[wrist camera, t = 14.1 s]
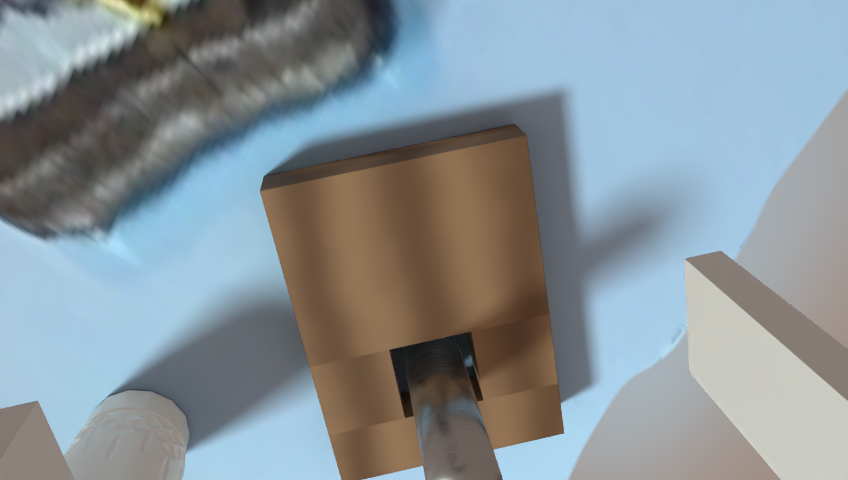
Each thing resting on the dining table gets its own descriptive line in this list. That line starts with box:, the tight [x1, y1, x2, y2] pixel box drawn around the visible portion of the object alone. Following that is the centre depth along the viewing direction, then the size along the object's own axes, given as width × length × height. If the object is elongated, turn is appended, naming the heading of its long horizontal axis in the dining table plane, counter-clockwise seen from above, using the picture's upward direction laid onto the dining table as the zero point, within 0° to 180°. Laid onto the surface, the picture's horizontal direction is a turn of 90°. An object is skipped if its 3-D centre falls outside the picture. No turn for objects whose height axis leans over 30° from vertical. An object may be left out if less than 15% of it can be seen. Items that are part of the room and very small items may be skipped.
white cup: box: [64, 390, 190, 480], centre depth 46 cm, size 8×8×10 cm
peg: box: [403, 336, 503, 480], centre depth 45 cm, size 4×4×14 cm
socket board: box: [260, 124, 564, 480], centre depth 49 cm, size 16×22×3 cm
